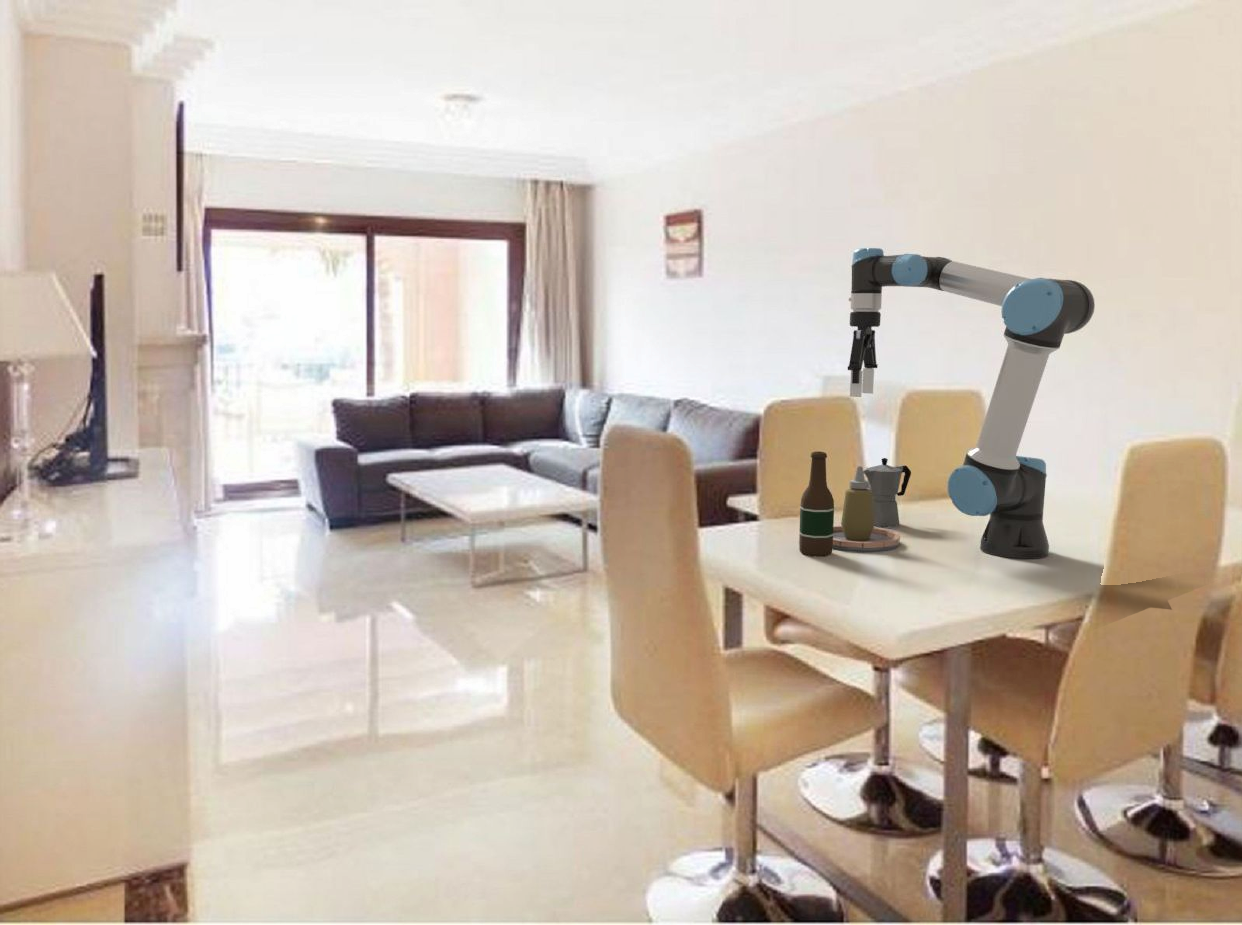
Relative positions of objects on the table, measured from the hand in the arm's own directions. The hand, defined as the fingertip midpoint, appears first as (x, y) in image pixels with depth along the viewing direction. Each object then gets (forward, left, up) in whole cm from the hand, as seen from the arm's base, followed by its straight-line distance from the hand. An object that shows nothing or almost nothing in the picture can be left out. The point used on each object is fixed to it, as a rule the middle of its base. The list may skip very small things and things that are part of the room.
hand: (861, 395), depth 248 cm
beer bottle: (-10, +28, -36) cm, 46 cm away
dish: (-8, +11, -36) cm, 38 cm away
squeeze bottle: (-8, +11, -35) cm, 37 cm away
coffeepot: (+2, -14, -36) cm, 39 cm away
